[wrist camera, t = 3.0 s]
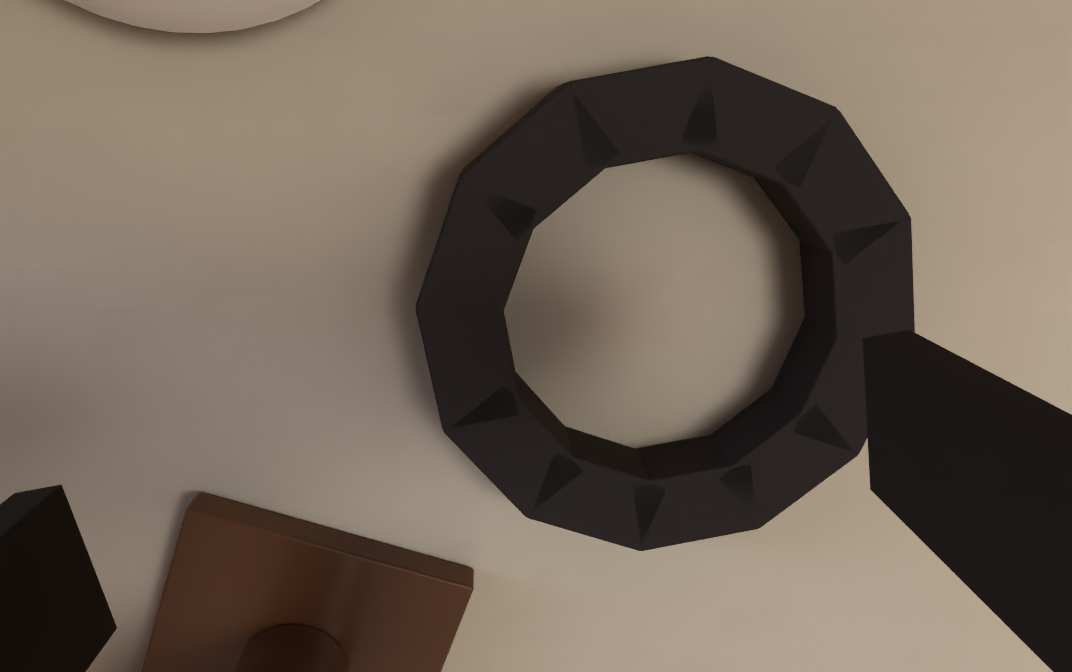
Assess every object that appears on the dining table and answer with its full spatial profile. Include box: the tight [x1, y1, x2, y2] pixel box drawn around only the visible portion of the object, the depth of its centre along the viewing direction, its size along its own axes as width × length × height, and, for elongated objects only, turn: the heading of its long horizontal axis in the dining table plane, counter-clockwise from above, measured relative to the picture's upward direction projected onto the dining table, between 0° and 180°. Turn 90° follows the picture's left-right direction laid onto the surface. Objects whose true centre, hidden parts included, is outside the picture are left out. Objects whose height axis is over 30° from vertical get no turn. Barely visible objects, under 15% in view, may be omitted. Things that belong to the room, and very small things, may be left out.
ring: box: [416, 56, 915, 551], centre depth 20 cm, size 12×12×2 cm
